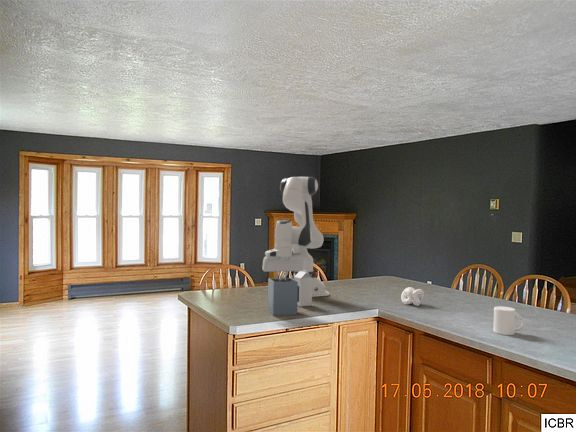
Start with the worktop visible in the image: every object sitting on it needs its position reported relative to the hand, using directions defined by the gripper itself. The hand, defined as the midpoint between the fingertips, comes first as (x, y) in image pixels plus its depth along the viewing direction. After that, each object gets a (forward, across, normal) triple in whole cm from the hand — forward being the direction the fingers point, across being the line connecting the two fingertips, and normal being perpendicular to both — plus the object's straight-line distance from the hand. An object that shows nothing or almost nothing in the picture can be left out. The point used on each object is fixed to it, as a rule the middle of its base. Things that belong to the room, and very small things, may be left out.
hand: (282, 280), depth 220 cm
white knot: (+15, -75, -3) cm, 77 cm away
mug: (+15, -85, +56) cm, 103 cm away
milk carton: (+16, -15, -14) cm, 26 cm away
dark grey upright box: (+16, -2, 0) cm, 16 cm away
